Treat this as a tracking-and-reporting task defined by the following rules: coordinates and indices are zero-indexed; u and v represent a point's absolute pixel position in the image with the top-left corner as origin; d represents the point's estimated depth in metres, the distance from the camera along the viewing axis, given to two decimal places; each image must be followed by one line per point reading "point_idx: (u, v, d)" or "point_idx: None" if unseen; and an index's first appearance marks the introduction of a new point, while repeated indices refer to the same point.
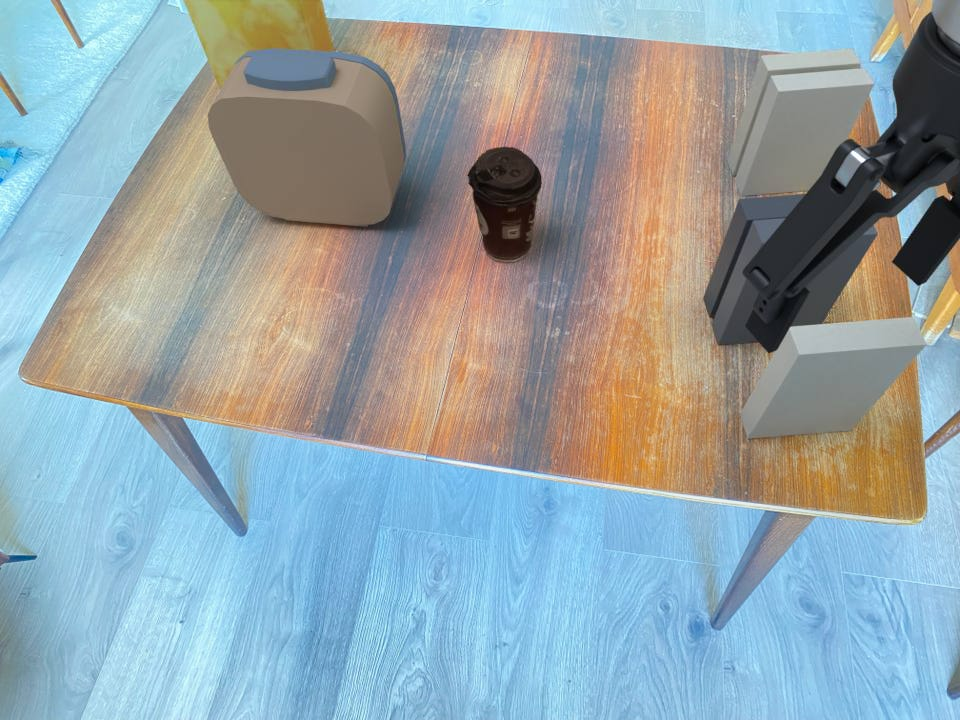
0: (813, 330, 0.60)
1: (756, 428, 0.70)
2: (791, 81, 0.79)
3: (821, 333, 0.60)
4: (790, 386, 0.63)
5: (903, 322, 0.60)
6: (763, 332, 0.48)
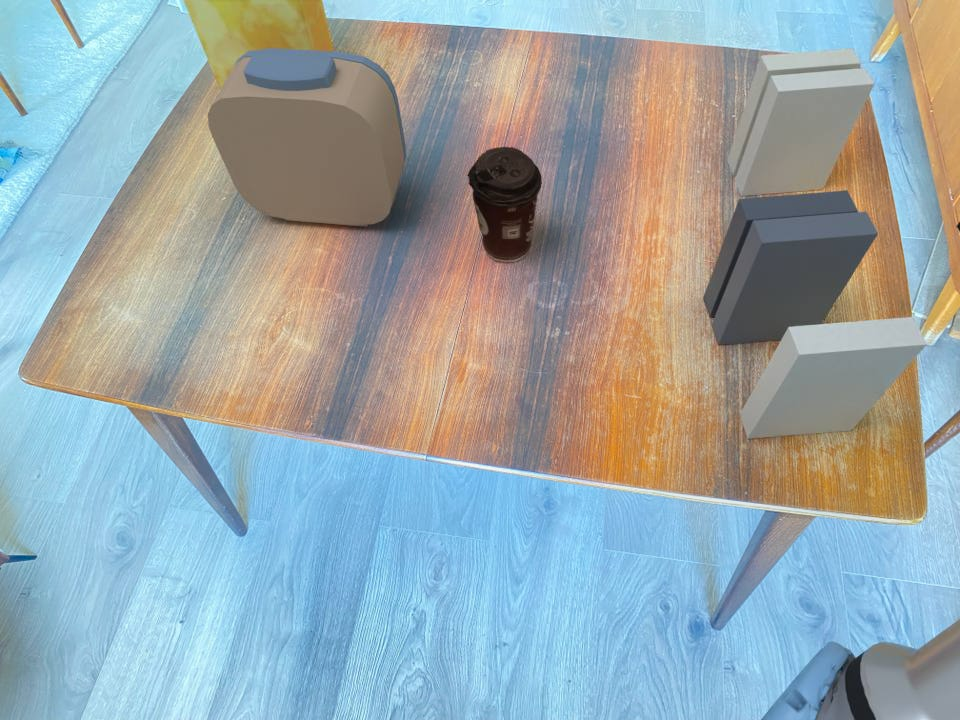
0: (813, 330, 0.60)
1: (756, 428, 0.70)
2: (791, 81, 0.79)
3: (821, 333, 0.60)
4: (790, 386, 0.63)
5: (903, 322, 0.60)
6: None
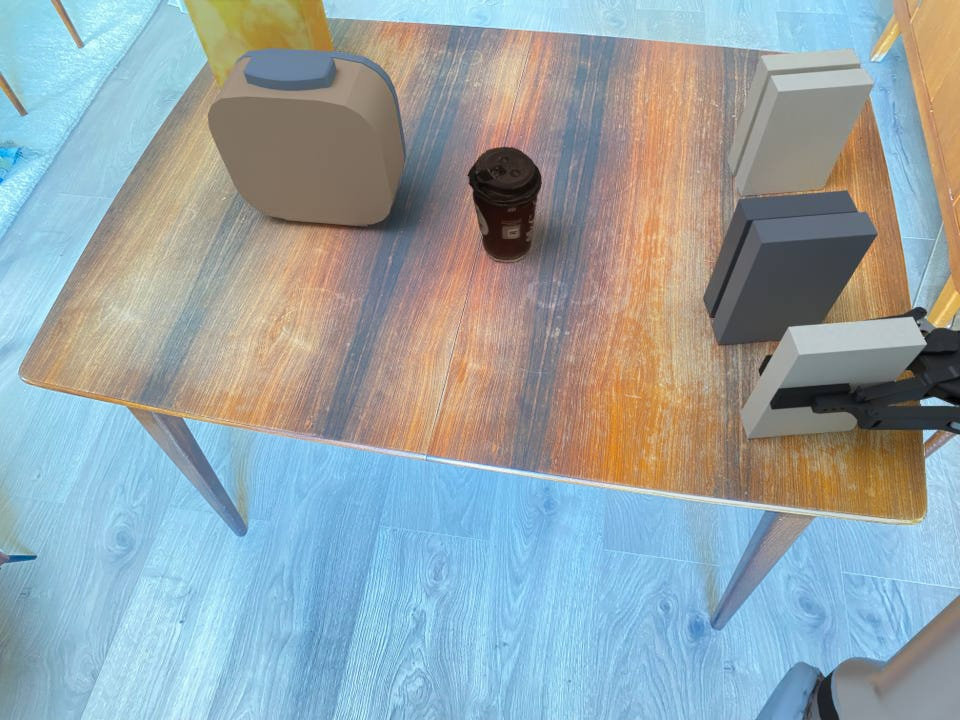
0: (813, 330, 0.60)
1: (756, 428, 0.70)
2: (791, 81, 0.79)
3: (821, 333, 0.60)
4: (790, 386, 0.63)
5: (903, 322, 0.60)
6: None
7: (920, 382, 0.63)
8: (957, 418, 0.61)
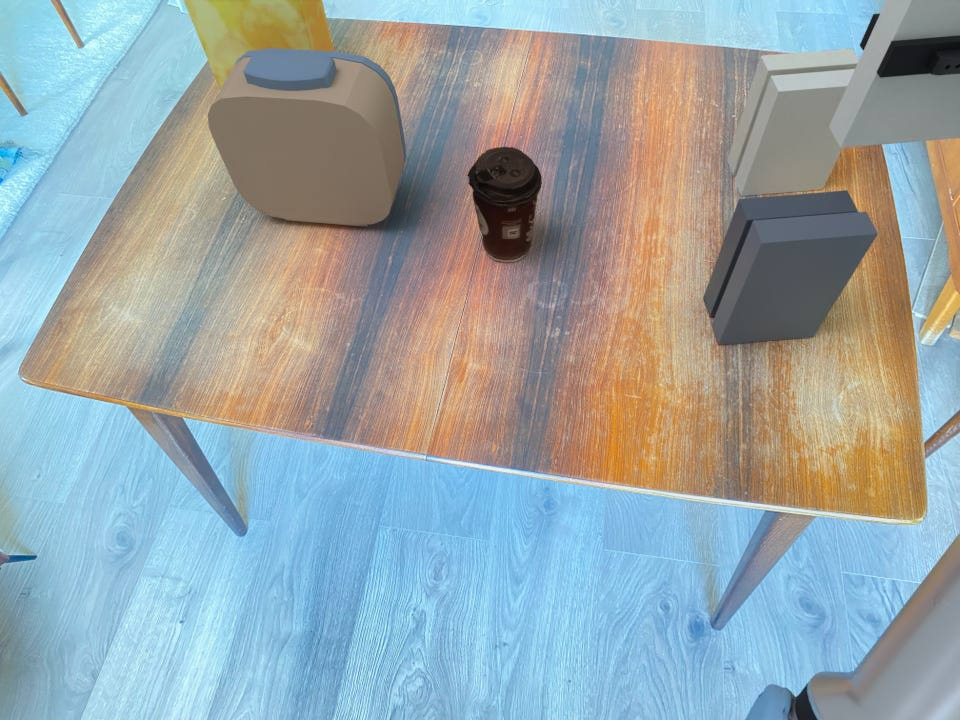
0: None
1: (853, 126, 0.60)
2: (791, 81, 0.79)
3: None
4: (907, 38, 0.53)
5: None
6: None
7: None
8: None
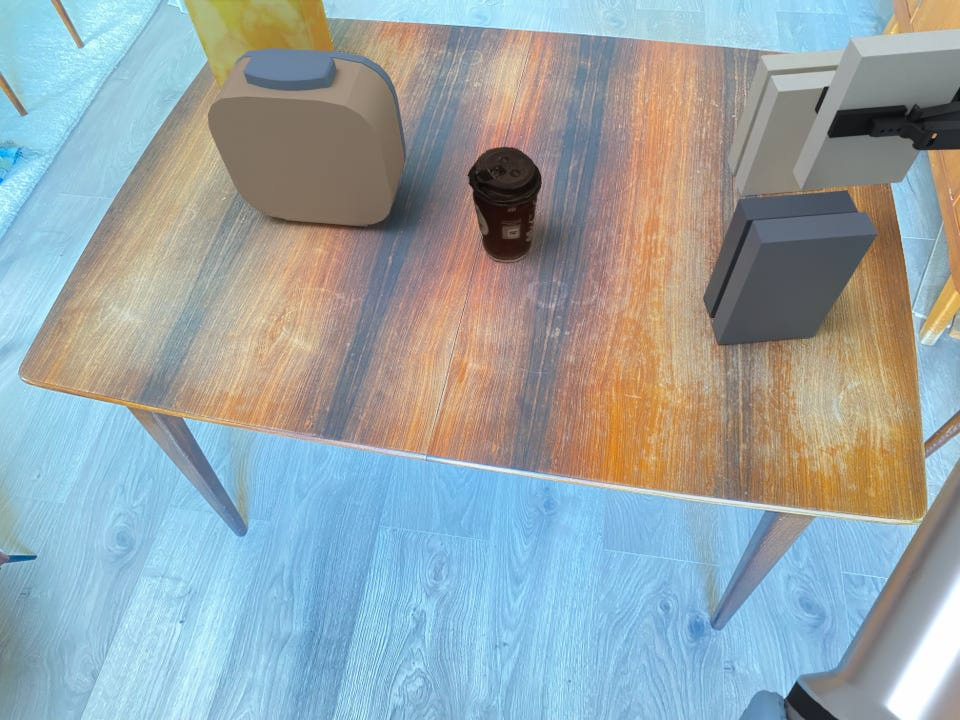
0: (874, 39, 0.63)
1: (811, 174, 0.73)
2: (791, 81, 0.79)
3: (882, 41, 0.63)
4: (849, 108, 0.66)
5: None
6: None
7: None
8: None
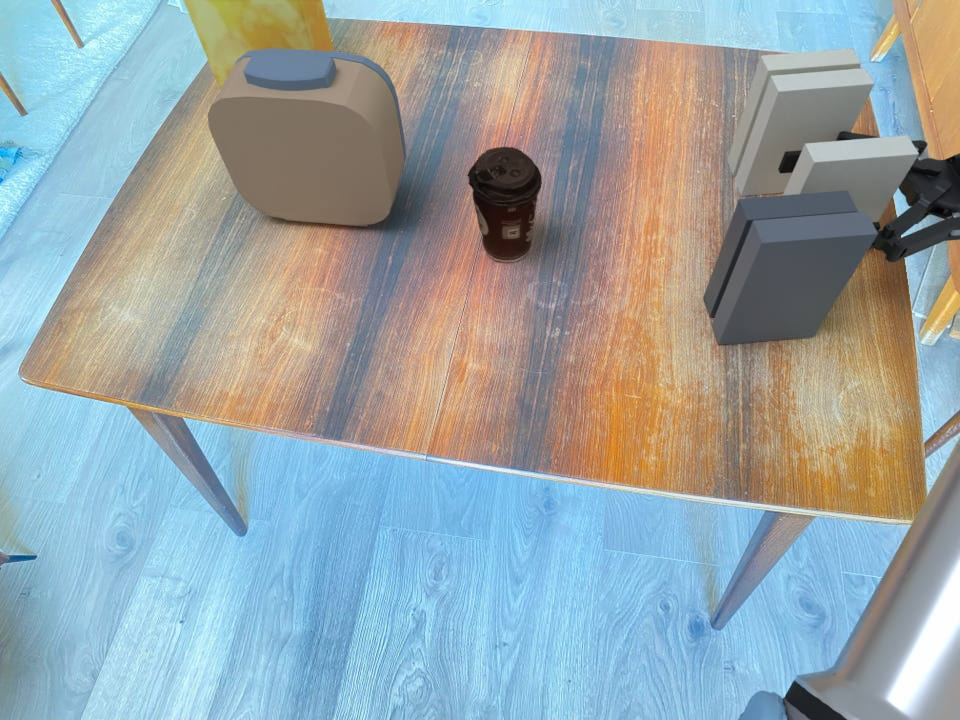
0: (825, 145, 0.73)
1: None
2: (791, 81, 0.79)
3: (832, 147, 0.73)
4: None
5: (899, 139, 0.73)
6: None
7: (921, 205, 0.76)
8: (957, 225, 0.74)
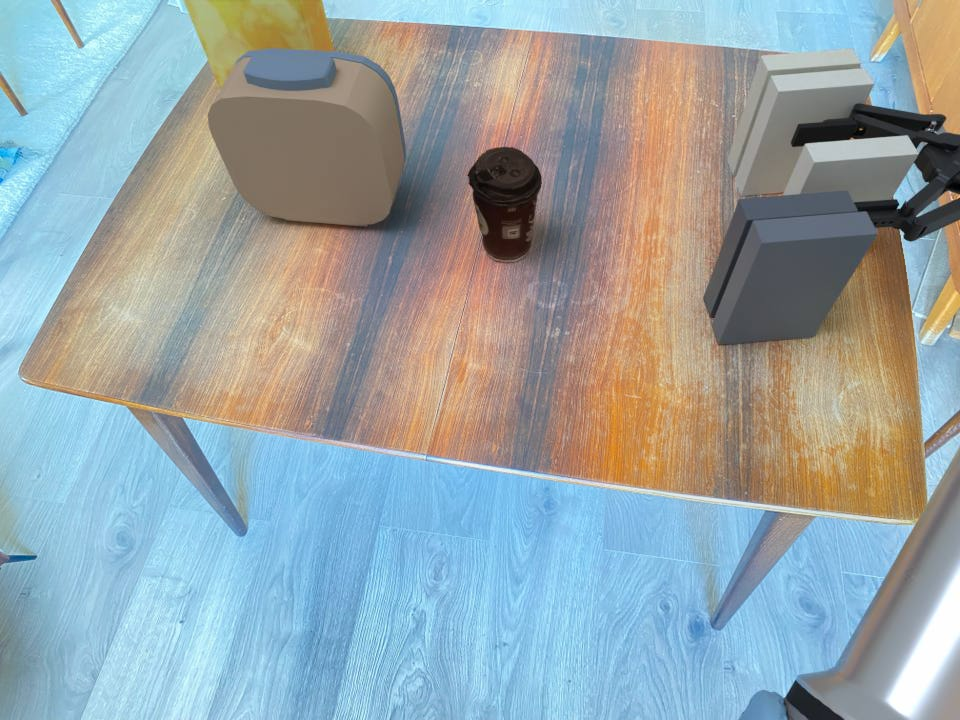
0: (825, 146, 0.73)
1: None
2: (791, 81, 0.79)
3: (832, 147, 0.73)
4: None
5: (899, 139, 0.73)
6: None
7: (940, 181, 0.73)
8: None
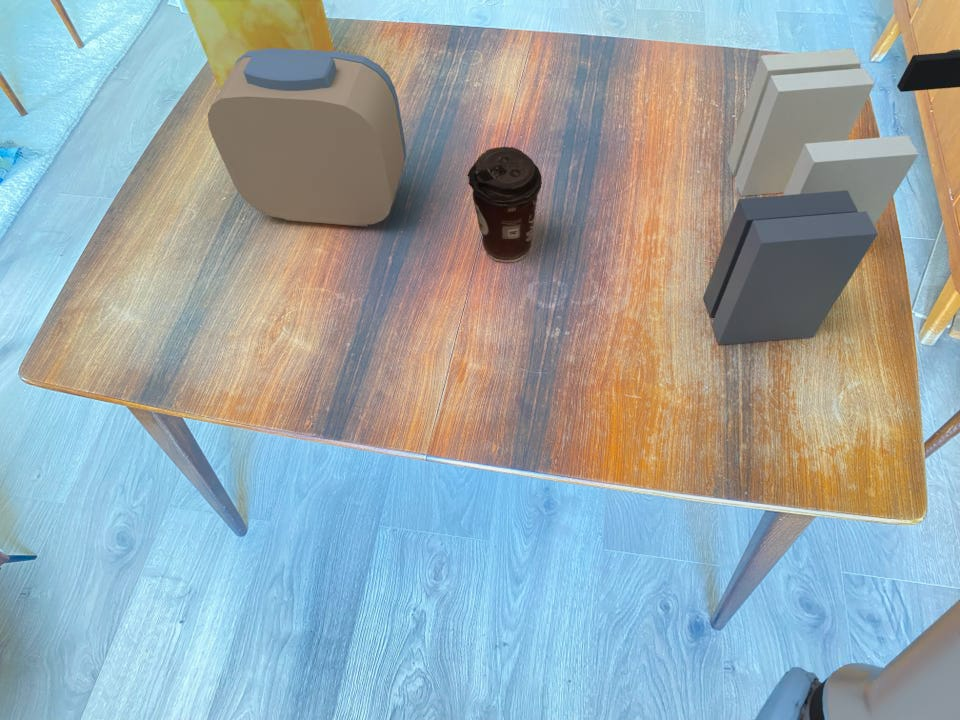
0: (825, 146, 0.73)
1: None
2: (791, 81, 0.79)
3: (832, 147, 0.73)
4: None
5: (899, 139, 0.73)
6: None
7: None
8: None
